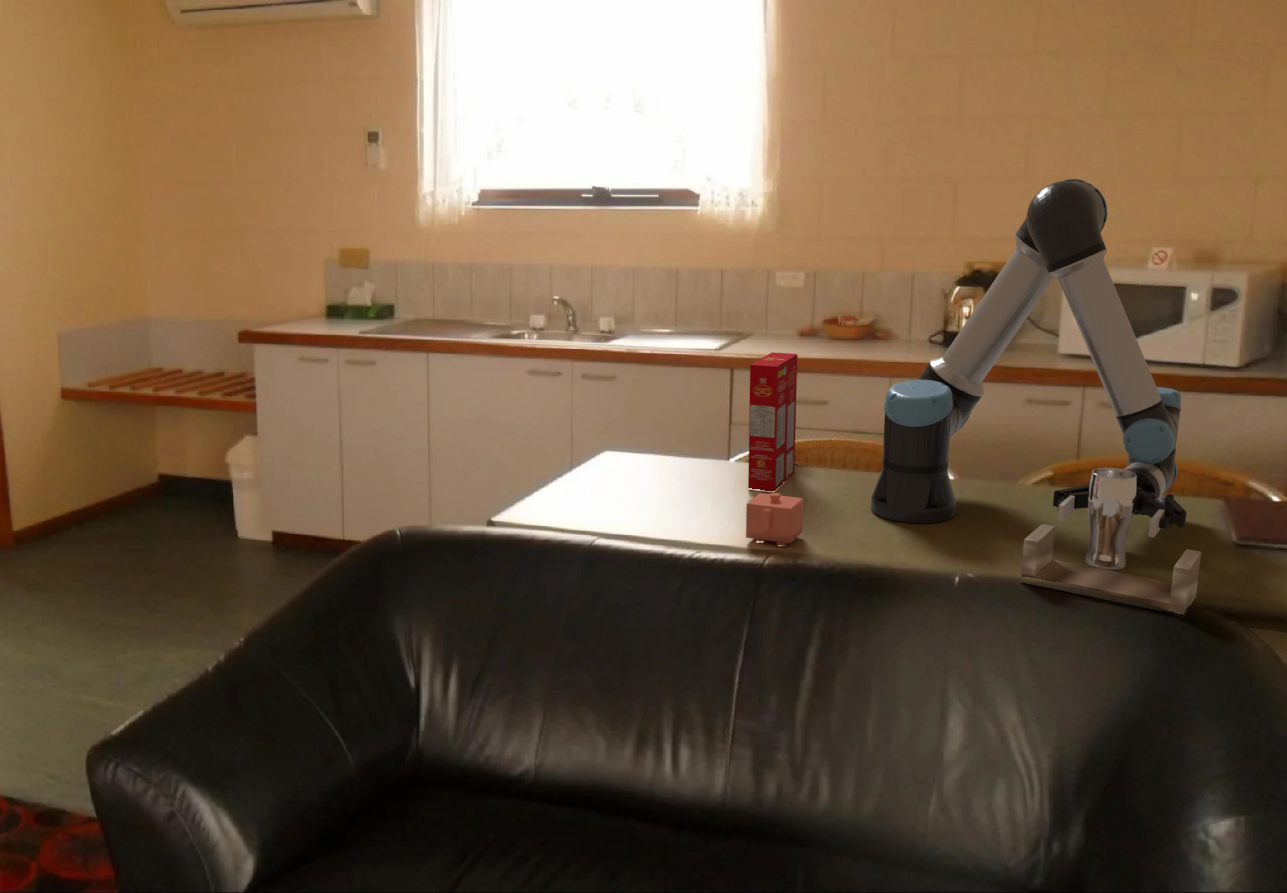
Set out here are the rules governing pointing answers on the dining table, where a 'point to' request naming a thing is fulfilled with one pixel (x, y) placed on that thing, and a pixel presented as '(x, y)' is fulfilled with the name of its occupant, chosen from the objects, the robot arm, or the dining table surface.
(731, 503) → the dining table surface
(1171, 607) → the board
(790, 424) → the food packaging
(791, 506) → the pink cube teapot
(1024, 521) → the dining table surface
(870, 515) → the dining table surface
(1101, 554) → the beer glass
